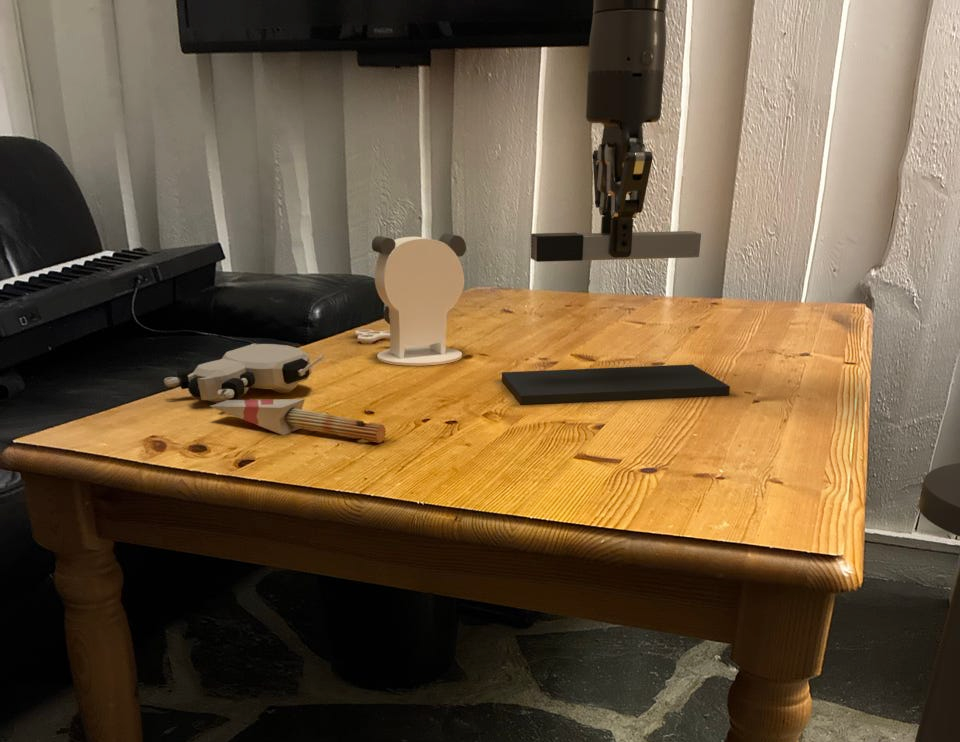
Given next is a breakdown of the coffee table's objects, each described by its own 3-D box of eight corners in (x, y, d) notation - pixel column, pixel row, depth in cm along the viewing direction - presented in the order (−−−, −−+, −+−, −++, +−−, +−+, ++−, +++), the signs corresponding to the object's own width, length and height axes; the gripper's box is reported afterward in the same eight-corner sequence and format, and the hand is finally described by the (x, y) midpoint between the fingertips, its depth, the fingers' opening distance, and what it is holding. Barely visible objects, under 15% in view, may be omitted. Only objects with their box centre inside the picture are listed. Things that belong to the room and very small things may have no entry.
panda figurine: (446, 345, 133) (443, 230, 126) (480, 360, 124) (479, 236, 117) (365, 353, 128) (358, 234, 121) (395, 368, 119) (389, 241, 112)
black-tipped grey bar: (536, 261, 99) (537, 236, 97) (530, 258, 101) (530, 233, 100) (699, 257, 101) (702, 232, 100) (689, 254, 104) (691, 229, 103)
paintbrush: (229, 384, 98) (391, 415, 90) (232, 410, 99) (391, 443, 92) (203, 392, 95) (368, 424, 87) (206, 419, 96) (369, 453, 89)
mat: (691, 372, 116) (692, 364, 116) (729, 395, 106) (730, 386, 105) (501, 380, 113) (501, 372, 113) (521, 404, 103) (521, 395, 102)
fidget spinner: (354, 334, 140) (353, 329, 139) (396, 332, 141) (396, 327, 141) (358, 343, 134) (358, 337, 133) (403, 341, 135) (402, 335, 135)
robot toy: (231, 424, 99) (333, 387, 109) (223, 381, 97) (327, 348, 107) (161, 407, 106) (263, 373, 116) (152, 366, 104) (257, 336, 113)
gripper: (571, 72, 99) (565, 249, 107) (609, 63, 86) (599, 263, 95) (640, 72, 100) (629, 247, 108) (686, 63, 87) (670, 261, 96)
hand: (615, 254), depth 101 cm, fingers closed on black-tipped grey bar, 3 cm apart
